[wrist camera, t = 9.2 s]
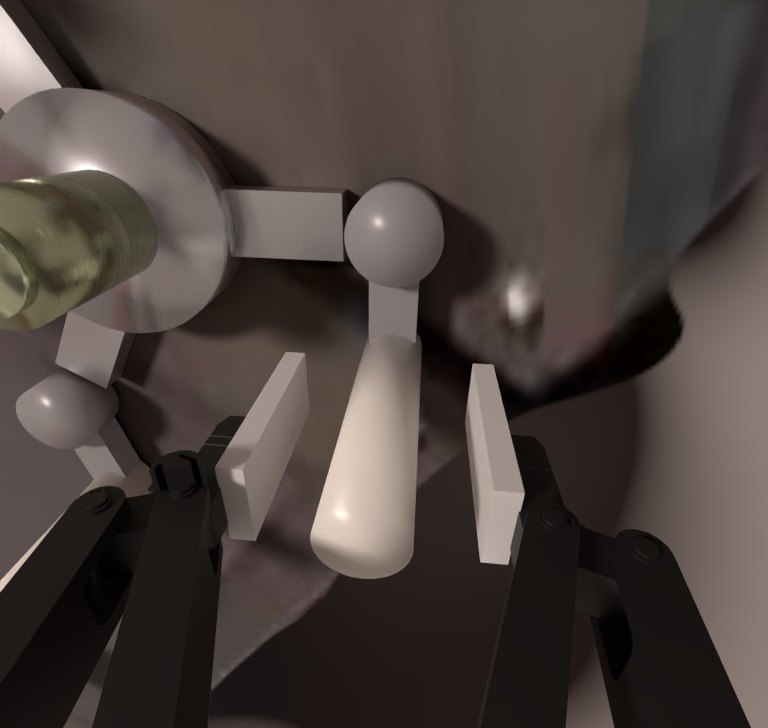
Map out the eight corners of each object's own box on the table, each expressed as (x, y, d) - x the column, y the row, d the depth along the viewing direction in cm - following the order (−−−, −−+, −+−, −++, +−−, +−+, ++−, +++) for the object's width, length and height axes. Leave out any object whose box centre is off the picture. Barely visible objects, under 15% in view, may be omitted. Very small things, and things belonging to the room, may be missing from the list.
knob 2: (353, 176, 17) (255, 252, 8) (446, 179, 17) (465, 261, 7) (356, 367, 22) (295, 572, 12) (430, 372, 21) (429, 585, 12)
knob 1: (39, 370, 23) (-235, 548, 14) (98, 361, 23) (-147, 541, 13) (116, 490, 27) (-55, 693, 18) (168, 485, 27) (20, 693, 17)
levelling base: (133, -203, 13) (-226, -584, 6) (374, 239, 19) (339, 315, 12) (-153, 113, 18) (-530, 112, 11) (103, 385, 24) (-36, 500, 17)
